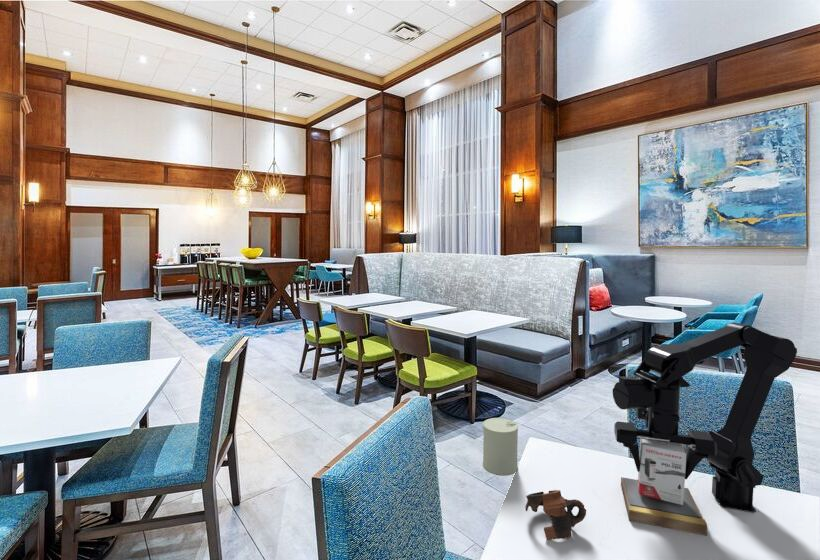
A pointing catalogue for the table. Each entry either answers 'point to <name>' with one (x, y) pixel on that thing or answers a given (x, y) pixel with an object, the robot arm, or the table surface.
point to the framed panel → (662, 510)
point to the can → (500, 446)
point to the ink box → (662, 470)
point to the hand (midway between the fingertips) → (661, 474)
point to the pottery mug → (557, 512)
